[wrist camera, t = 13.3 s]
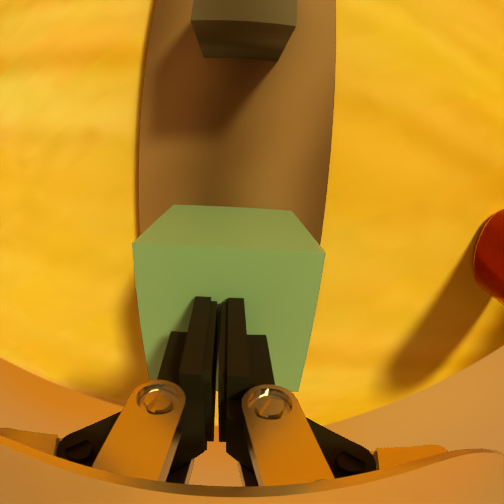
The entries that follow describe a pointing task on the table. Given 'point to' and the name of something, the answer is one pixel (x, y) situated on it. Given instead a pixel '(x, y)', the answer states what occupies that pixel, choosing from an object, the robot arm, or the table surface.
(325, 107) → the walnut stand
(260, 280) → the sage green cube
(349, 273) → the table surface
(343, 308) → the table surface
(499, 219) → the soda can
